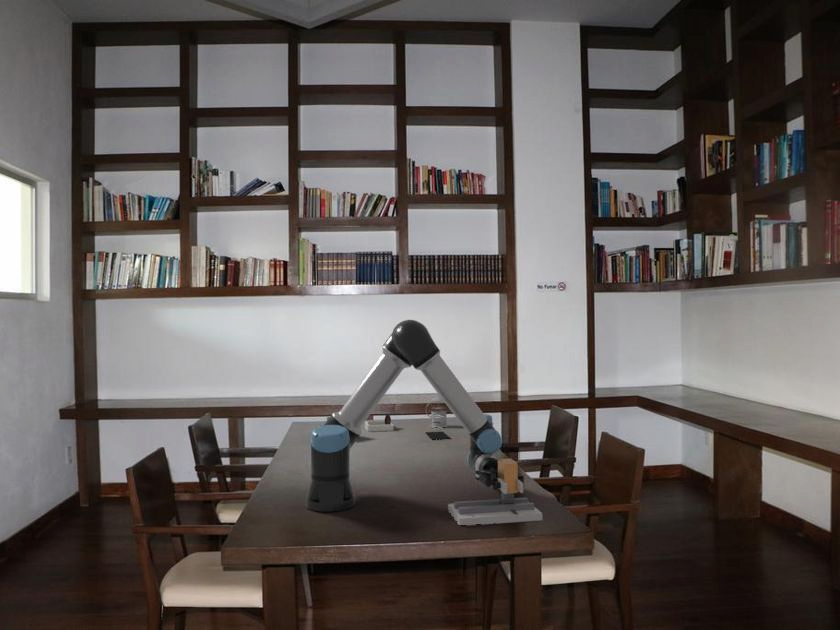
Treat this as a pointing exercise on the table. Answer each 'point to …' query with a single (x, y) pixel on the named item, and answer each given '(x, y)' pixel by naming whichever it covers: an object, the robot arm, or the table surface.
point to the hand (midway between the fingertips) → (513, 488)
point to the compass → (387, 419)
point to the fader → (508, 479)
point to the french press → (439, 411)
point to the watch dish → (378, 426)
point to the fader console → (493, 512)
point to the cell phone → (437, 435)
